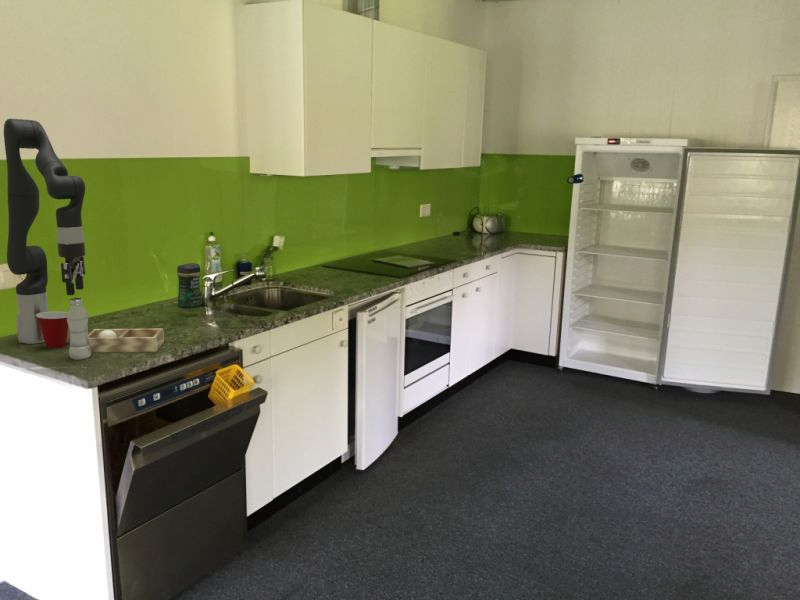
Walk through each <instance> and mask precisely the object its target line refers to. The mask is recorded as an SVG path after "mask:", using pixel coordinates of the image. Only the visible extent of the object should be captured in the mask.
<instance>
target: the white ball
mask: <svg viewBox="0 0 800 600" xmlns="http://www.w3.org/2000/svg"><path fill="white" fill-rule="evenodd" d="M98 338H117V335H116V333H115V332H114V331H112V330H104V331H102V332H101V333H100V334H99V336H98Z"/></svg>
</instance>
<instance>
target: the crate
mask: <svg viewBox="0 0 800 600" xmlns="http://www.w3.org/2000/svg"><path fill="white" fill-rule="evenodd" d="M104 330H112V331H114V332H115V333H116V335H117V338H98V336H99V334H100V333H101V332H102V331H104ZM88 339H89V344H90V347H91V354H92V353H146V352H147V353H148V352H150V353H152V352H154V353H155V352H158V350H159V349H160V348H161V346H162V345H163V344H164V342H165V336H164V328H163V327H162V328H94V329H92V330H91V331H90V332H89V333H88Z"/></svg>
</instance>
